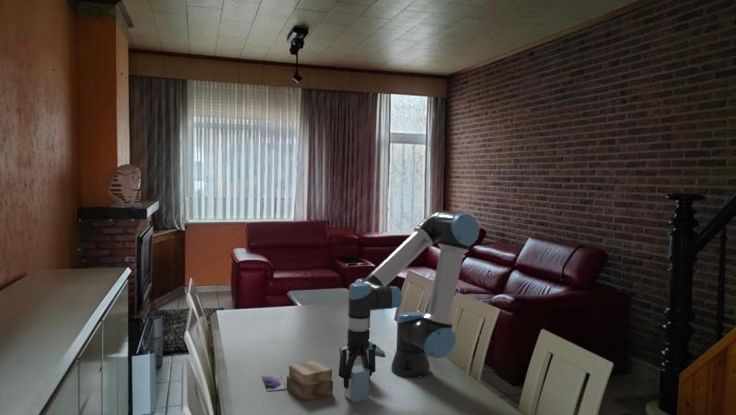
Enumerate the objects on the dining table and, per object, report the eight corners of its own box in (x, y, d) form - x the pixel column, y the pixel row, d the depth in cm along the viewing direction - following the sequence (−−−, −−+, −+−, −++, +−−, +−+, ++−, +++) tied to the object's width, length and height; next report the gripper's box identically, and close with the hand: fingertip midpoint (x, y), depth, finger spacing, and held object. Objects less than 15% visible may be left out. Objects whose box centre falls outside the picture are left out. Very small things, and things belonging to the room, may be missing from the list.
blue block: (359, 392, 186) (360, 364, 185) (368, 399, 181) (369, 370, 180) (344, 396, 183) (345, 367, 182) (353, 402, 178) (354, 373, 177)
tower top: (316, 370, 193) (316, 360, 193) (331, 380, 184) (332, 369, 183) (289, 376, 187) (289, 365, 186) (303, 387, 177) (303, 375, 177)
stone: (391, 350, 227) (371, 353, 221) (390, 358, 227) (371, 361, 222) (370, 338, 241) (351, 340, 236) (369, 345, 241) (350, 347, 236)
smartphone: (266, 391, 184) (261, 375, 198) (266, 393, 184) (261, 377, 198) (286, 388, 186) (279, 373, 200) (286, 391, 186) (279, 375, 200)
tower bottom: (316, 383, 194) (317, 370, 193) (332, 395, 184) (333, 381, 183) (286, 389, 187) (286, 376, 187) (301, 402, 177) (301, 387, 177)
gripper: (376, 322, 189) (373, 386, 190) (328, 329, 178) (326, 396, 180) (387, 328, 182) (385, 393, 183) (339, 335, 172) (337, 404, 173)
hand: (356, 394), depth 182 cm, fingers closed on blue block, 6 cm apart
